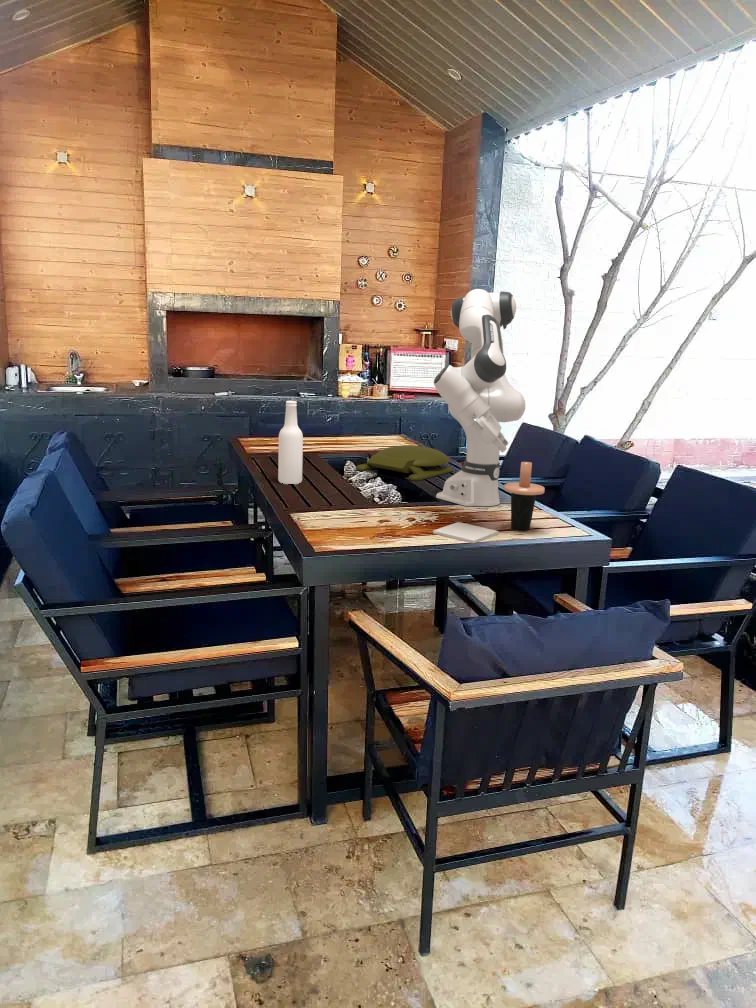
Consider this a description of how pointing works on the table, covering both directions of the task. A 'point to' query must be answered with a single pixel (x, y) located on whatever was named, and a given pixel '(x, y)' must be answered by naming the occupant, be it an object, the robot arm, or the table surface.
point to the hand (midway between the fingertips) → (505, 447)
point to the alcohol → (290, 448)
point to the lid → (524, 483)
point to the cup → (521, 511)
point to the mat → (465, 532)
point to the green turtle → (409, 461)
